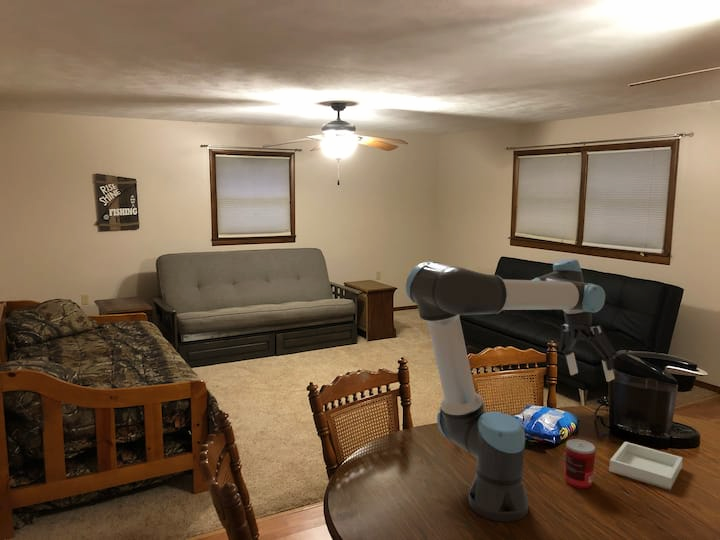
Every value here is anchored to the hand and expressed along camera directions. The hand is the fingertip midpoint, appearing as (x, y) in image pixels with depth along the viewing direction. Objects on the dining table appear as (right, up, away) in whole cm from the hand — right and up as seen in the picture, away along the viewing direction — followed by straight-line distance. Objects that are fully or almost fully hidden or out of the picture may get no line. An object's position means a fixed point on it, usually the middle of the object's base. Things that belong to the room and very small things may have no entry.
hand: (591, 376), depth 167 cm
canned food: (-9, -28, -11) cm, 31 cm away
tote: (+14, -27, -4) cm, 31 cm away
